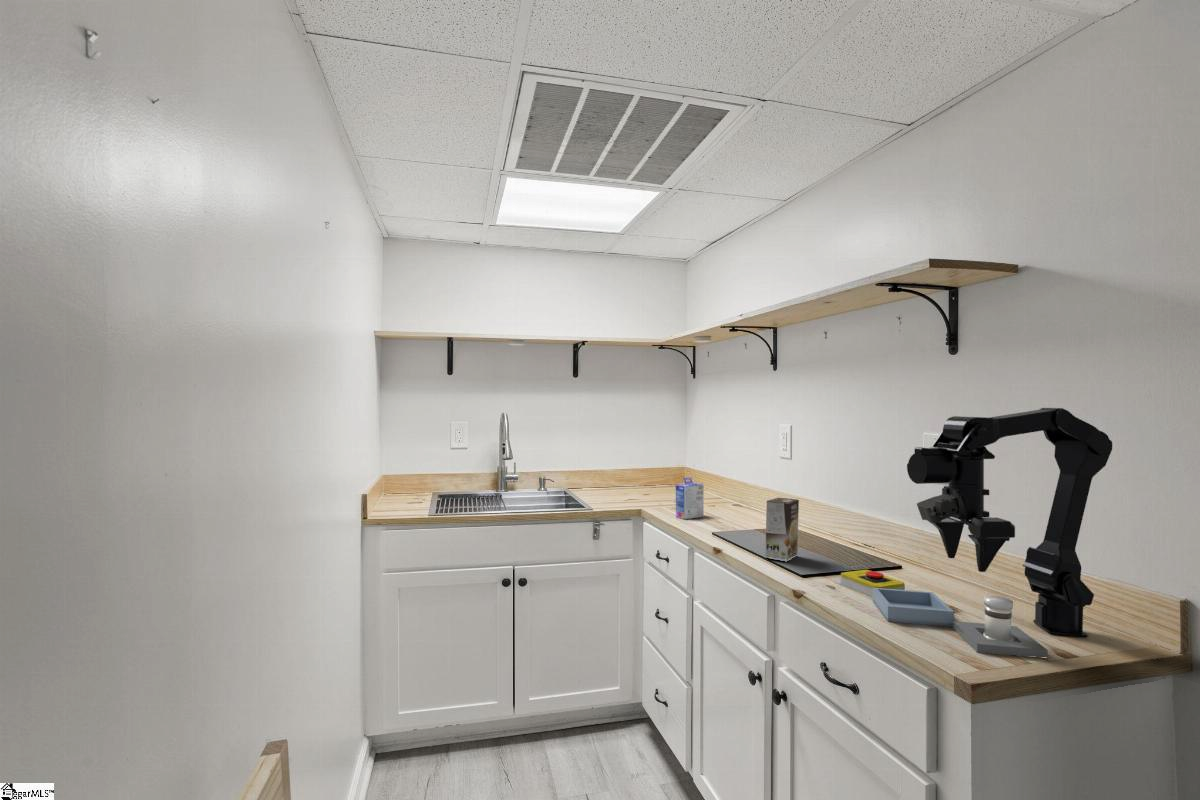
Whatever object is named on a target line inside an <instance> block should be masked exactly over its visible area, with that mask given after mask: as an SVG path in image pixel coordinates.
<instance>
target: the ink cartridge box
mask: <svg viewBox="0 0 1200 800" xmlns="http://www.w3.org/2000/svg"><path fill="white" fill-rule="evenodd" d="M683 481H684V483H683V484H681V483H680V484H676V485H675V517H676V518H678V519H681V520H690V519H698V518H704V510H705V509H704V507H705V506H704V501H705V499H704V498H705V497H704V493H705V492H704V491H705V489H704V487H705V486H704V484H703V483H698V482H693V480H692V478H691V477H683Z"/></svg>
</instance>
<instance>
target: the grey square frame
mask: <svg viewBox="0 0 1200 800" xmlns="http://www.w3.org/2000/svg"><path fill="white" fill-rule="evenodd" d="M952 630H954V632H955V633H957V634H958V635H959V636H960V637H961V638H962V639H963V640H964V641H965V642H966V643H967V644H968V645H969V646H970V647H971V648H972V649H973V650H974V651H975V652H976V653H978V654H980V653H982V654H990V655H1002V656H1011V655H1019V656H1018V657H1022V656H1036V657H1047V658H1049V657H1048V654H1049V650H1048V649H1047V648H1045V647H1044V646H1043V645H1042V644H1041V643H1039V642H1038V641H1037V640H1035V639H1034V638H1032V637H1031V635H1029V634H1027V633H1026V632H1025V631H1024V630H1022V629H1021V628H1019V627H1018V626H1016V625H1011V638H1012V641H1002V640H990V639H987V638H985V637H984V636H983V633H984V632H985V623H984V622H983V623H982V622H980V623H979V622H971V621H970V622H969V621H967V622H966V621H958V620H954V621H953V627H952Z"/></svg>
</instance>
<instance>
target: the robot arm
mask: <svg viewBox="0 0 1200 800" xmlns="http://www.w3.org/2000/svg"><path fill="white" fill-rule="evenodd" d="M1041 431H1043V434H1044V437H1045V439H1046V440H1047V441H1048V442H1050V443H1051V444H1052V445H1053V446H1054V460H1055V461H1056V464H1057V466H1058V469H1059V474H1058V475H1059V476H1058V479H1057V484H1056V488H1055V491H1054V496H1053V499H1052V500H1053V501H1052V505H1051V509H1050V513H1049V517H1048V519H1047V520H1048V521H1047V525H1046V528H1045V533H1044V537H1043V541H1042V542H1041V543H1040V544H1039V545H1037V546H1036V547H1032V546H1029V547H1028V548H1027V550H1026V556H1025V560H1024V562H1023V563H1022V567H1024V577H1026V579H1027V581H1028V583H1029V587H1030V589H1031V592H1033V593H1037V594H1038V596H1037V598H1038V599H1037V600H1038V601H1036V602H1035V607H1034V608H1035V609H1034V612H1035V613H1034V619H1033V620H1032V622H1033V623H1034V624H1036V625H1037V626H1038V627H1040V628H1041V629H1042V630H1044V631H1045V632H1047V633H1048V634H1050V635H1060V636H1071V637H1080V638H1081V637H1085V638H1088V637H1089V634H1088V633H1087V632H1085V631H1084V630H1083V629H1084V627H1083V626H1084V607H1086V606H1091V605H1092V603H1093V600H1094V597H1095V594H1094V593H1093V591H1092V590H1091V589H1090V588H1089V587H1088V586H1087V584H1085V583H1084V582H1083V580H1082V578H1081V576H1082V564H1081V562H1080V559H1079V557H1078V554H1077V551H1076V547H1077V544H1078V538H1079V534H1080V530H1081V528H1082V527H1081V525H1082V521H1083V517H1084V515H1085V514H1084V513H1085V509H1086V506H1087V501H1088V497H1089V493H1090V488H1091V484H1092V482H1093V481H1092V480H1093V478H1094V477H1095V476H1096V475H1097V474H1098V473H1099V472H1100V471H1101V470H1102V469H1103V468H1105V467H1106V465H1107V463H1108V461H1109V458H1110V456H1111V454H1112V450H1113V441H1112V440H1111V439H1110V437H1109V435H1108V434H1107V433H1105V432H1104V431H1102V430H1099V428H1097V427H1096V426H1094V424H1090V423H1088V422H1087V421H1085V420H1083V419H1080V418H1078V417H1077V416H1075V415H1074V414H1073V413H1071V412H1070V411H1069V410H1067V409H1065V408H1062V407H1041V408H1039V409H1036V410H1030V411H1029V410H1028V411H1023V412H1021V411H1020V412H1015V413H1009V414H1004V415H1002V414H1001V415H997V416H996V415H995V416H992V417H990V416H989V417H983V416H982V417H981V416H958V415H957V416H956V415H955V416H953V415H952V416H950V417H949V418H947V419H946V420H945V423H944V424H943V428H942V429H941V431H940V433H939V434H938V435H937V437H936V438H935V439H934V441H933V443H931V445H930V447H928V448H927V447H918V446H917V447H914V453H913V454H912V455H910V457H909V459H908V462H907V464H906V470H907V474H908V477H909V479H910V480H911V481H912V482H913V483H915V484H917V485H918V484H919V485H921V484H923V485H925V484H928V485H929V484H947V483H948V485H944V486H943V487H942V488H941V494H940V495H937V496H932V497H929V498H926V499H924V500H921V501H919V502H917V503H916V506H917V508H918V511H919V515H920V517H921V520H923V521H928V522H929V523H930V524H931V525H932V526H933V527H935V528H936V529H937V530H938V532H939V535H940V537H941V541H942V543H943V546H944V549H945V553H946V555H947V557H948V559H955V557H956V555H957V552H958V548H959V544H960V541H961V538H962V533H963V529H964V526H965V525H966V526H967V528H968V531H969V532H970V533H969V534H967V536H968V538H969V539H971V540H972V542H973V543H974V545H975V546H974V547H975V556H976V565H977V571H978V572H980V573H985V572H987V570H988V569H989V567H990V566H991V563H992V561H994V559H995V557H996V555H997V553H998V552H999V551H1000V550H1001V548H1002V547H1003V545H1004V544H1005V543H1006V542H1009V541H1010V540H1011V539H1010V538H1013V539H1014V538H1015V537H1016V526H1015V525H1014V524H1013V523H1012V522H1011V521H1010V520H1007V519H1003V518H1000V517H990V511H987V510H985V496H990V489H986V488H985V460H994V459H995V458H996V456H995V455H994V454H993V452H991V451H990V450H988V448H987V446H990V445H992V444H995V443H996V442H997V441H999V440H1000V439H1002V438H1005V437H1011V436H1018V435H1024V434H1029V433H1037V432H1041Z"/></svg>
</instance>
